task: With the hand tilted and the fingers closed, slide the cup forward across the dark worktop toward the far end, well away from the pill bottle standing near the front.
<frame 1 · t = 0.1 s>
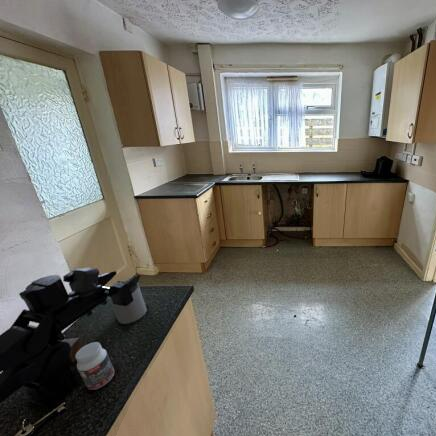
hand: (127, 273, 74), 17 cm above the counter, tool horizontal, fingers open, 9 cm apart
walnut block: (70, 356, 66), on the counter
cup: (132, 314, 80), on the counter
pill bottle: (101, 379, 60), on the counter
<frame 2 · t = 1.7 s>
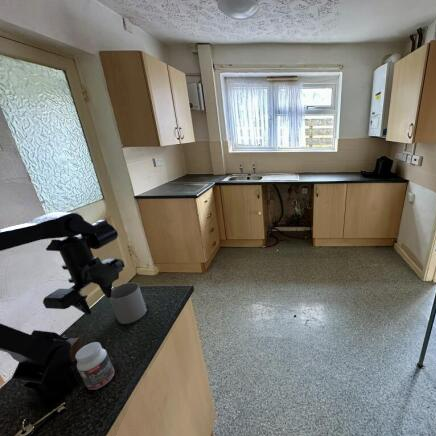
hand: (99, 305, 67), 12 cm above the counter, tool pointing down, fingers open, 6 cm apart
nothing on the counter moved.
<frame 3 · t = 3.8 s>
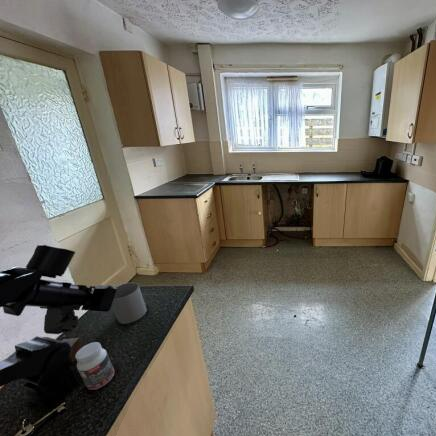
hand: (104, 300, 69), 12 cm above the counter, tool tilted 45°, fingers closed
nothing on the counter moved.
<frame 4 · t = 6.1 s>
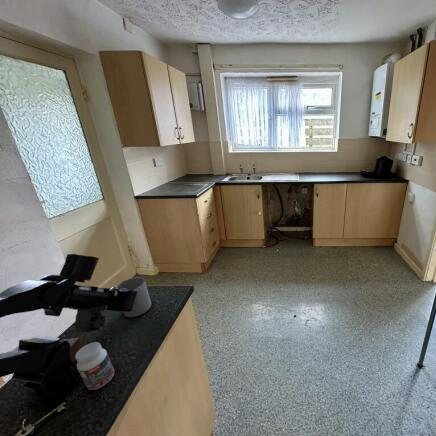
hand: (124, 300, 76), 7 cm above the counter, tool tilted 45°, fingers closed, pressing on cup
cup: (138, 308, 83), on the counter, touching gripper
everything else where it was.
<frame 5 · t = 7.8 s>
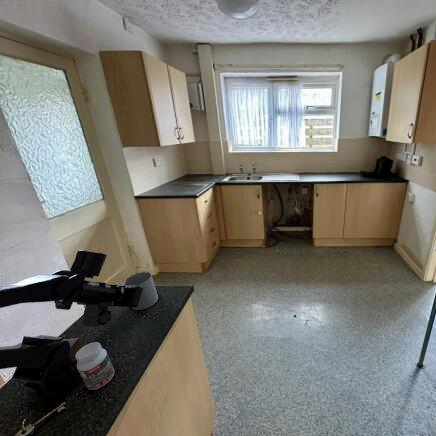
hand: (130, 297, 79), 6 cm above the counter, tool tilted 45°, fingers closed
cup: (145, 302, 86), on the counter
everything else where it was.
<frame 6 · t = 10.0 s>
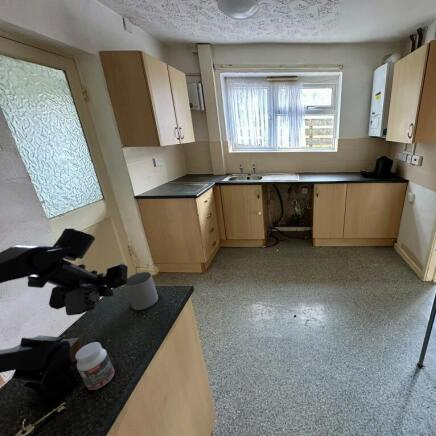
hand: (111, 294, 72), 12 cm above the counter, tool tilted 35°, fingers closed
nothing on the counter moved.
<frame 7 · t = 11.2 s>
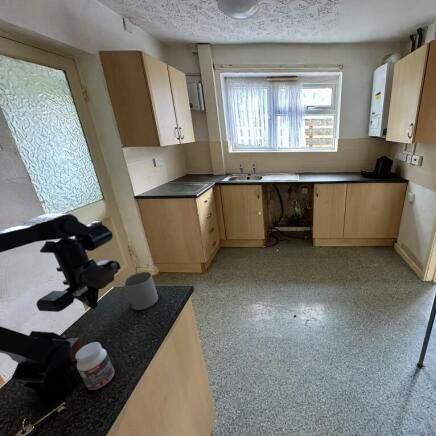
hand: (94, 307, 67), 12 cm above the counter, tool pointing down, fingers closed
nothing on the counter moved.
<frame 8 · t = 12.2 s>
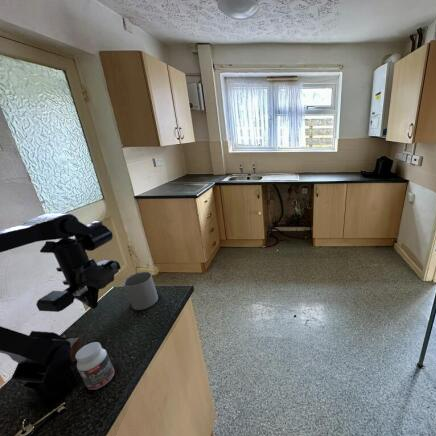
hand: (94, 307, 67), 12 cm above the counter, tool pointing down, fingers closed
nothing on the counter moved.
at the end: cup inside the target area on the counter beside the pill bottle (1.2 cm from its centre), on the counter; cup tilted 0°; pill bottle moved 0.2 cm from its start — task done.
